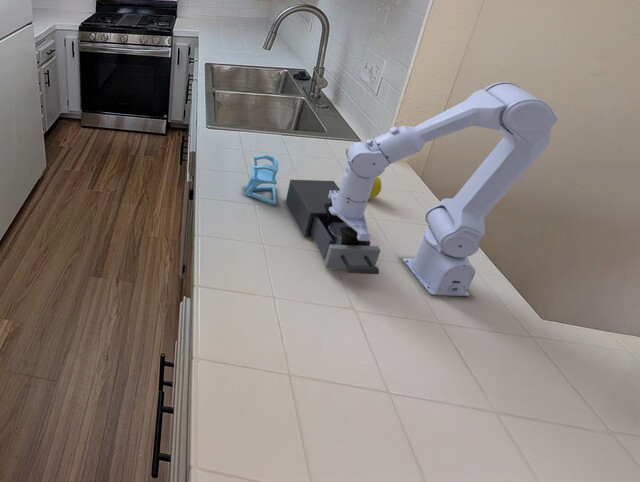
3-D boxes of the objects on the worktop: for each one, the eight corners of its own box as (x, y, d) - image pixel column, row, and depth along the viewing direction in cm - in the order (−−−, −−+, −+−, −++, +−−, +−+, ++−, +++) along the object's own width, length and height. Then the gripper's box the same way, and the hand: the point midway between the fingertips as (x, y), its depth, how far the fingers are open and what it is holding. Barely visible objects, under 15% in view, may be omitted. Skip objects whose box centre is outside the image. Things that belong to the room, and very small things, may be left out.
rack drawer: (385, 286, 80) (392, 265, 78) (334, 284, 81) (341, 264, 78) (346, 230, 96) (351, 211, 94) (304, 228, 96) (308, 210, 94)
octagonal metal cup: (357, 256, 87) (363, 240, 85) (331, 255, 87) (336, 239, 85) (345, 237, 92) (349, 222, 90) (321, 236, 92) (325, 221, 90)
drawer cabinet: (352, 239, 94) (359, 214, 91) (304, 237, 95) (310, 212, 92) (327, 203, 107) (333, 180, 104) (285, 202, 107) (290, 179, 104)
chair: (245, 184, 115) (250, 149, 110) (274, 189, 113) (281, 153, 108) (244, 199, 108) (250, 163, 103) (276, 205, 106) (283, 168, 101)
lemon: (380, 205, 106) (388, 181, 103) (358, 202, 107) (365, 178, 104) (372, 193, 111) (380, 169, 108) (352, 190, 112) (358, 167, 109)
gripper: (320, 174, 90) (309, 220, 96) (351, 216, 77) (335, 266, 82) (351, 175, 90) (337, 221, 95) (387, 217, 77) (369, 267, 82)
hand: (338, 242), depth 89 cm, fingers closed on octagonal metal cup, 6 cm apart
